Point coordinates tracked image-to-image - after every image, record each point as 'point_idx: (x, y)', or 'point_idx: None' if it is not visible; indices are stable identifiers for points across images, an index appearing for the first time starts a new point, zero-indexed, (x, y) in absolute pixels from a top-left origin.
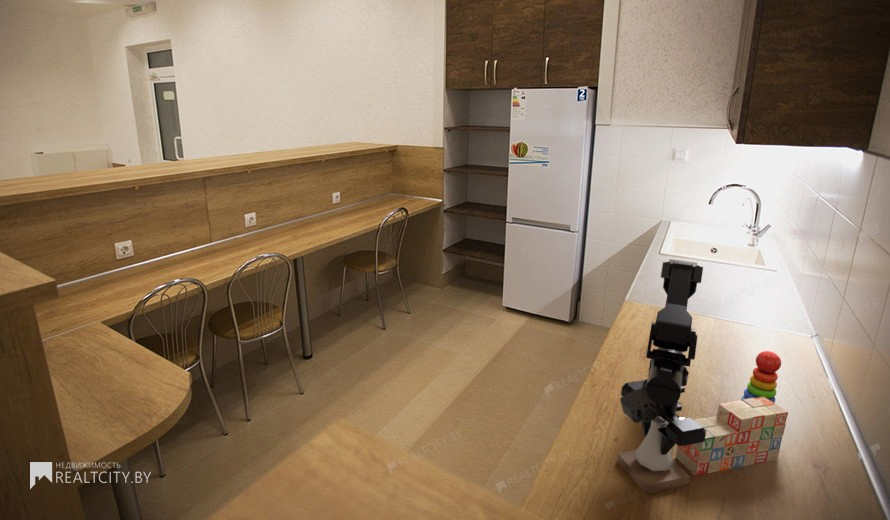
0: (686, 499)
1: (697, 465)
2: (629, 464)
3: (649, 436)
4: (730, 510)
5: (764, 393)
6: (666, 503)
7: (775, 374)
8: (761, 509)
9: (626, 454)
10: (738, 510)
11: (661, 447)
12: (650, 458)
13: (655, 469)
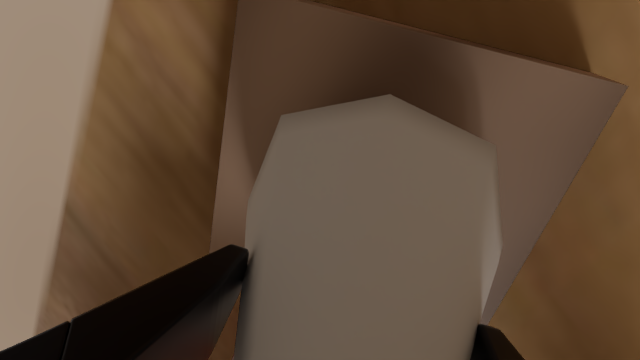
0: (158, 152)
1: (233, 356)
2: (470, 58)
3: (380, 346)
4: (65, 240)
5: None
6: (166, 35)
7: None
8: (51, 319)
9: (560, 136)
10: (60, 262)
11: (196, 286)
12: (312, 157)
13: (274, 135)
